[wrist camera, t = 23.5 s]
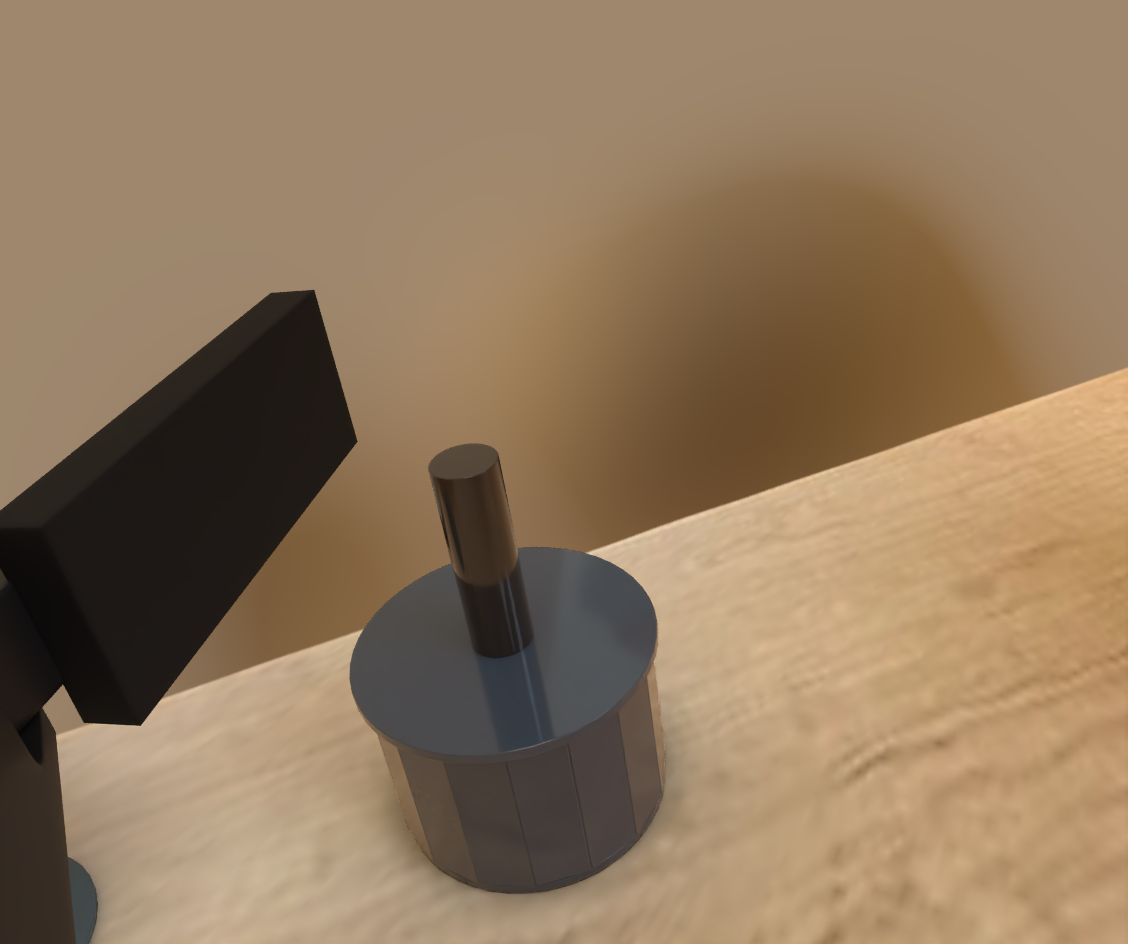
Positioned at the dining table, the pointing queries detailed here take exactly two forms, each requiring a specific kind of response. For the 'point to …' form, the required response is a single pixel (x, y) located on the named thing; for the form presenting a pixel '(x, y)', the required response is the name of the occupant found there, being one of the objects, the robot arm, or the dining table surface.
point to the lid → (500, 635)
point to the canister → (539, 804)
